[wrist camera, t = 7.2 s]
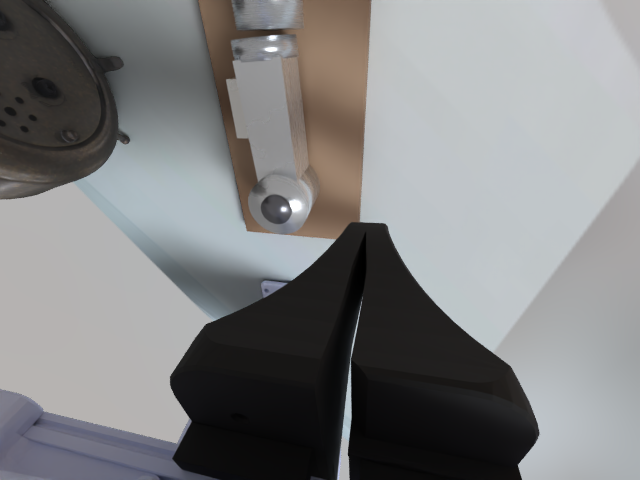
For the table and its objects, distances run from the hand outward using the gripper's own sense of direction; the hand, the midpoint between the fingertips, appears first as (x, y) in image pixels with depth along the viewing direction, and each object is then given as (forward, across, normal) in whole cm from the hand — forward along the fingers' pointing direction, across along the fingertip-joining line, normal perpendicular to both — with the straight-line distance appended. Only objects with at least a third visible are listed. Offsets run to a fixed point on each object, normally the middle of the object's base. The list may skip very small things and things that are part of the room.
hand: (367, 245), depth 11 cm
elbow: (+9, +6, -2) cm, 10 cm away
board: (+10, +5, -3) cm, 12 cm away
